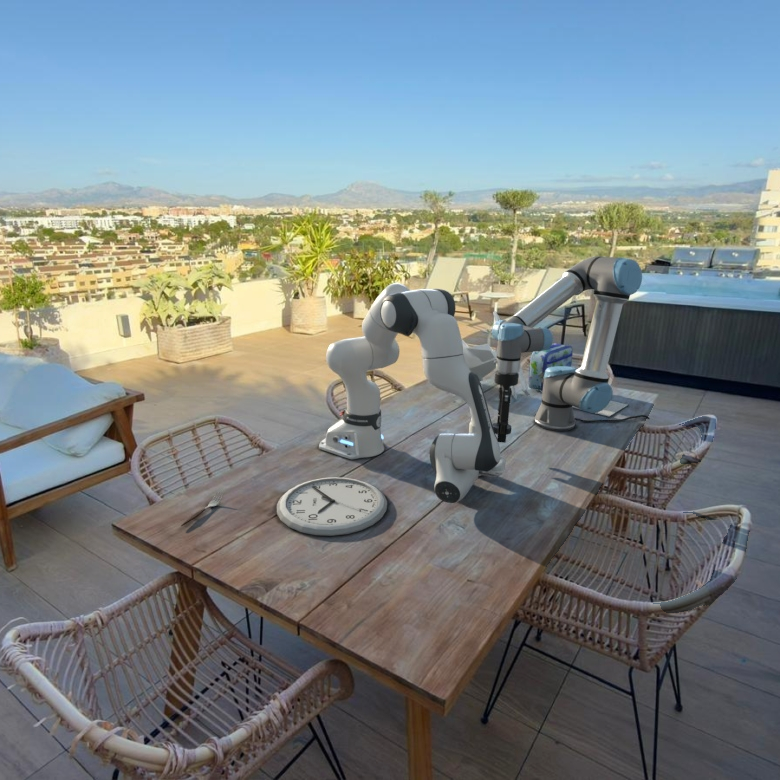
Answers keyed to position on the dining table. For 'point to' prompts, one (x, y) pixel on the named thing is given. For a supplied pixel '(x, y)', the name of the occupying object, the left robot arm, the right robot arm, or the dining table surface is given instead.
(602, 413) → the invitation card
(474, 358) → the white plastic object
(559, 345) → the lunch box
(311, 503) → the wall clock
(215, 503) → the fork
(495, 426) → the lid
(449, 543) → the dining table surface
